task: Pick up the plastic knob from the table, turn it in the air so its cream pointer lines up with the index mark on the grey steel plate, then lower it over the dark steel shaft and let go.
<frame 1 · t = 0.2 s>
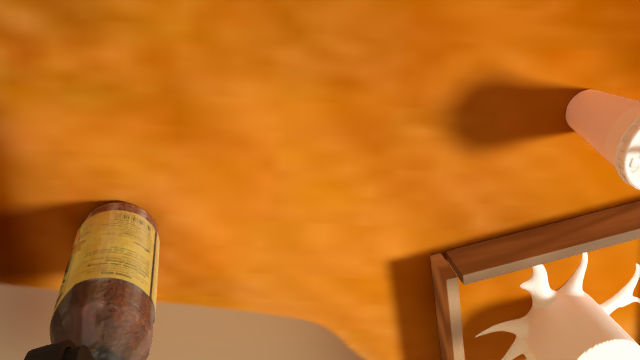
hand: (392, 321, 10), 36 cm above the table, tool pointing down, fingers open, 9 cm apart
smoothie: (584, 109, 51), on the table
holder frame: (562, 324, 61), on the table
sauce bottle: (122, 233, 48), on the table
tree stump: (557, 321, 62), resting in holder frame
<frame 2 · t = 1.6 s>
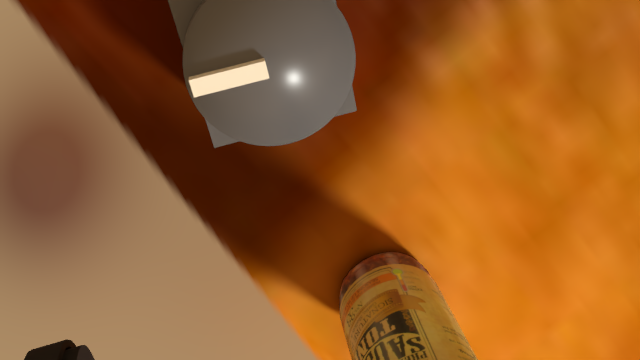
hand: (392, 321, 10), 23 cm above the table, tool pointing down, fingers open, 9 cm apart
sauce bottle: (380, 289, 38), on the table
knob: (256, 30, 30), on the table
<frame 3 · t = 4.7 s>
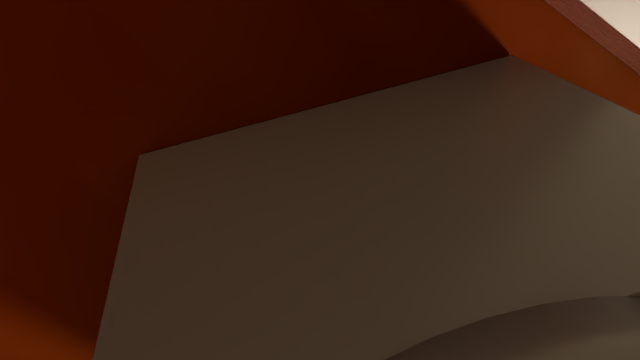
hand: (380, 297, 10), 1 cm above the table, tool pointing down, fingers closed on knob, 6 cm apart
knob: (364, 261, 11), on the table, touching gripper
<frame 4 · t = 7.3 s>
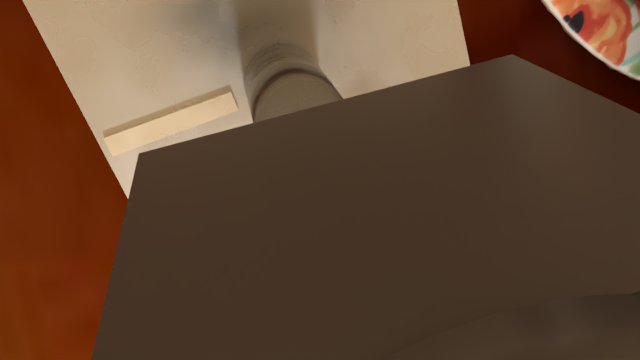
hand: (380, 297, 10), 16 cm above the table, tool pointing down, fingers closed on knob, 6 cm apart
knob: (363, 260, 11), point 15 cm above the table, touching gripper
shaft base: (278, 72, 25), on the table
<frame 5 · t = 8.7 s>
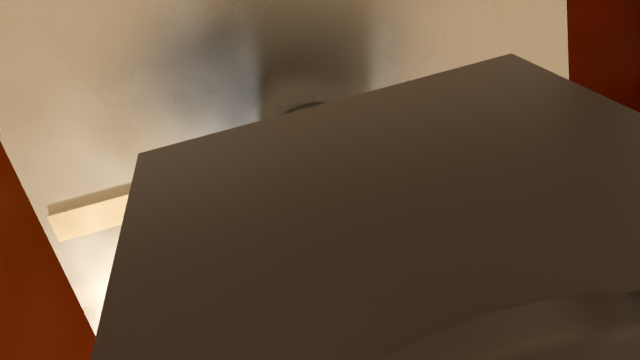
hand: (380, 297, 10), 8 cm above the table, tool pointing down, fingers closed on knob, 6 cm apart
knob: (363, 260, 11), point 7 cm above the table, touching gripper
shaft base: (306, 136, 18), on the table
when the fingers open (4 cm above the table, at t = 10.5 s): knob stays where it is, resting on shaft base.
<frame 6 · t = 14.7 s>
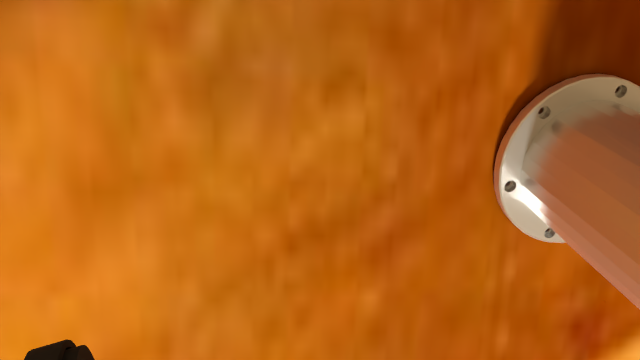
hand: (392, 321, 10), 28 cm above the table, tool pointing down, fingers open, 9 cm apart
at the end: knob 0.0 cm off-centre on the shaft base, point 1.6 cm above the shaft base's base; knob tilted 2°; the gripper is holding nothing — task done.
